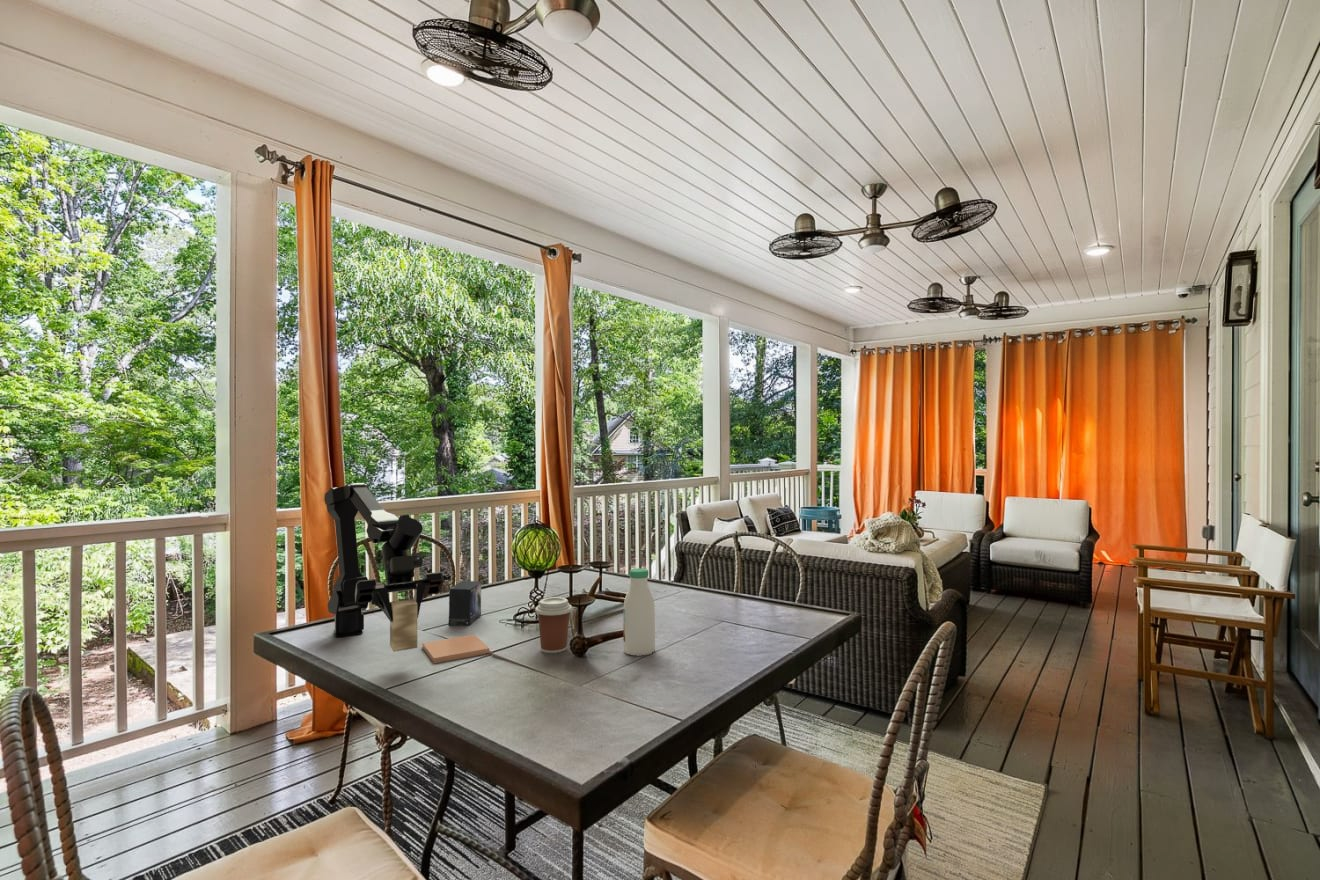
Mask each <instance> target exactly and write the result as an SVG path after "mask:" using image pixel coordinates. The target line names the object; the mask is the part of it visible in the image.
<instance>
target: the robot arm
mask: <svg viewBox="0 0 1320 880" xmlns="http://www.w3.org/2000/svg"><path fill="white" fill-rule="evenodd" d="M323 499H324V504H325V505H326V510H327V513H328V515H330V517H331V518H332V519H333V520H334V524H335V525H334V526H335V534H336V536H335V537H336V545H337V546H336V547H337V558H338V561H337V562H338V571H339V574H338V577H337V579H336V580H335V582H334V584H333V593H332V595H331V597H330V599H329V600H328V602H327V610H328V613H330V614H333V615H334V629H333V634H334V637H335V638H343V637H349V636H354V635H355V636H356V635H361V634H363V632H364V631H363V630H364V629H365V614H364V613H363V612H362V611H363V610H365V609H368V607H369V603H371V605H374V606H375V605H376V606H377V607H378V608H379V609H380V610H381V611H382V612H383V613H384V615H385V617H386V618H387V619H388V620H389V623H390V622H393V613H392V609H391V605H390V602H391V601H390V597H389V593H397V592H405V591H412V590H414V596H413V599H414V600H415V601H416V603H417V619H418V618H419V616H420V615H419V614H420V609H421V605H422V604H421V603H422V602H423V599H426V598H428V596H432V595H438V594H441V592H442V589H443V586H444V585H443V584H444V581H445V579H444V575H443V574H442V573H441V572H440V571H436V572H435V571H434V572H427V573H424V576H423V579H418V580H413V578H415V569H418V568H422V566H423V565H424V564H423V563H424V562H423V561H424V560H423V555H422V552H413V554H411V555H409V550H410V549H412V548H413V547H414V546H415V544H416V542H417V540H418V539H419V537H420V536H421V534H422V533H423V529H424V528H423V524H422V523H421V522H420V521H418V519H415V518H412V517H410V515H409V514H408V513H407V514H400V516H399V517H398V516H397V515H395V514H394V513H390V512H389V511H386V510H384V508H383V507H382V506H381V504H380V503H379V502H378V500H377V498H375V496H374V495H373V493H372V492H371V491H370V488H369V485H368V484H367V483H364V482H359V483H357V482H356V483H348V484H345V485H344V486H339V487H330V488H329V489H328V491H326V492H325V494H324V498H323ZM358 513H359V514H360V515H361V517H362V518H363V520H364V521H365V522H366V524H367V527H366V534H367V537H368V539H370V541H371V542H372V543H373V544H381V543H383V545H382V546H381V552H380V558H382V560H383V561H382V562H383V568H384V575H385V577H384V578H385V582H384V581H383V582H382V581H381V582H377V580H376V578H372V579H371V578H368V577H367V576H364V575H363V574H362V572H360V564H359V563H360V561H359V551H358V543H357V542H358V541H357V530H356V529H357V528H356V516H357V514H358Z"/></svg>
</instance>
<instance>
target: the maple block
mask: <svg viewBox="0 0 1320 880" xmlns="http://www.w3.org/2000/svg"><path fill="white" fill-rule="evenodd" d="M390 605H391V609H392V613H393V622H390V621H389V646H390V648H391V650H392V651H393V652H396V653H397V652H401V651H406V650H412V649H413V650H414V649H418V618H417V603H416V601H415V600H414V598H411V599H409V598H408V599H402V600H396V601H390Z"/></svg>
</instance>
